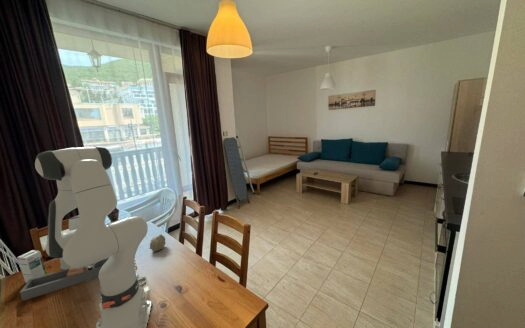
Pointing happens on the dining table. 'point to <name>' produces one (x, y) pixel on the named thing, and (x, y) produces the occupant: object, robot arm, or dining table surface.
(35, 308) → the dining table surface
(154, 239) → the beige rough lump
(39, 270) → the syrup box
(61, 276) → the charcoal chute
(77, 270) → the terracotta block
